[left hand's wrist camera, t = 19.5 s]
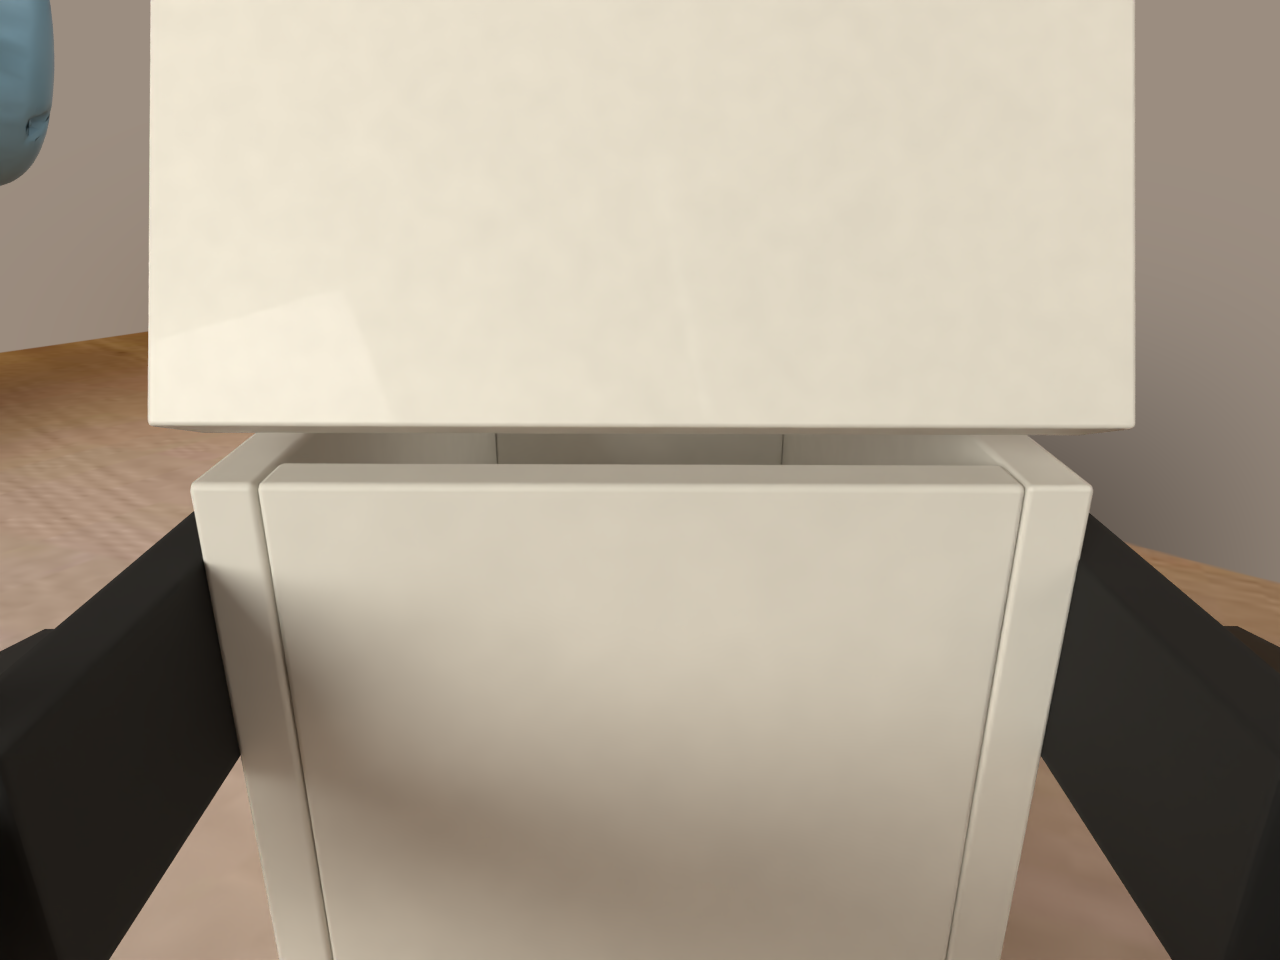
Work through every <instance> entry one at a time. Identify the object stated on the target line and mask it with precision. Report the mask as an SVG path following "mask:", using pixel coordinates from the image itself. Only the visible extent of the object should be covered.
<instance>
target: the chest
mask: <svg viewBox="0 0 1280 960" xmlns="http://www.w3.org/2000/svg"><path fill="white" fill-rule="evenodd" d="M190 492H191V497H192V502H193V507H194V513H195V518H196V523H197V528H198V534H199V539H200V544H201V550H202V555H203V560H204V565H205V571H206V576H207V581H208V586H209V592H210V597H211V602H212V607H213V613H214V618H215V623H216V629H217V634H218V639H219V644H220V650H221V655H222V660H223V665H224V671H225V676H226V681H227V687H228V692H229V697H230V702H231V708H232V713H233V718H234V723H235V729H236V734H237V739H238V744H239V750H240V755H241V760H242V766H243V771H244V776H245V781H246V787H247V792H248V797H249V802H250V808H251V813H252V818H253V824H254V829H255V834H256V839H257V845H258V850H259V855H260V860H261V866H262V871H263V876H264V881H265V887H266V892H267V897H268V903H269V908H270V913H271V918H272V924H273V929H274V934H275V939H276V945H277V950H278V955H279V960H1000V958H1001V953H1002V948H1003V943H1004V938H1005V933H1006V928H1007V923H1008V918H1009V913H1010V907H1011V902H1012V897H1013V892H1014V887H1015V882H1016V877H1017V872H1018V867H1019V862H1020V857H1021V852H1022V847H1023V842H1024V837H1025V832H1026V827H1027V822H1028V817H1029V812H1030V807H1031V802H1032V797H1033V792H1034V787H1035V782H1036V777H1037V772H1038V767H1039V762H1040V757H1041V751H1042V746H1043V741H1044V736H1045V731H1046V725H1047V720H1048V715H1049V710H1050V705H1051V700H1052V695H1053V690H1054V685H1055V679H1056V674H1057V669H1058V664H1059V659H1060V654H1061V649H1062V644H1063V639H1064V633H1065V628H1066V623H1067V618H1068V613H1069V608H1070V603H1071V598H1072V592H1073V587H1074V582H1075V577H1076V572H1077V567H1078V562H1079V560H1080V555H1081V550H1082V545H1083V540H1084V535H1085V530H1086V525H1087V520H1088V515H1089V510H1090V505H1091V500H1092V495H1093V488H1092V486H1091V485H1090V484H1089V483H1087V482H1086V481H1085V480H1084V479H1082V478H1081V477H1080V476H1078V475H1077V474H1076V473H1075V472H1073V471H1072V470H1071V469H1070V468H1068V467H1067V466H1066V465H1064V464H1063V463H1062V462H1061V461H1059V460H1058V459H1057V458H1056V457H1054V456H1053V455H1052V454H1050V453H1049V452H1048V451H1047V450H1045V449H1044V448H1043V447H1042V446H1040V445H1039V444H1038V443H1036V442H1035V441H1034V440H1033V439H1031V438H1030V437H1029V436H1028V435H868V434H536V433H255V434H254V435H252V436H251V437H250V438H249V439H247V440H246V441H245V442H244V443H242V444H241V445H240V446H239V447H237V448H236V449H235V450H233V451H232V452H231V453H230V454H228V455H227V456H226V457H225V458H223V459H222V460H221V461H220V462H218V463H217V464H216V465H214V466H213V467H212V468H211V469H209V470H208V471H207V472H206V473H204V474H203V475H202V476H201V477H199V478H198V479H197V480H195V481H194V482H193V483H192V485H191V490H190Z"/></svg>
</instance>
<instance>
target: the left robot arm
mask: <svg viewBox="0 0 1280 960" xmlns="http://www.w3.org/2000/svg"><path fill="white" fill-rule="evenodd" d="M239 757H240V750H239V744H238V739H237V734H236V729H235V723H234V718H233V713H232V708H231V702H230V697H229V692H228V687H227V681H226V676H225V671H224V665H223V660H222V655H221V650H220V644H219V639H218V634H217V629H216V623H215V618H214V613H213V607H212V602H211V597H210V592H209V586H208V581H207V576H206V571H205V565H204V560H203V555H202V550H201V544H200V539H199V534H198V528H197V523H196V518H195V513H194V512H192V513H191V514H190V515H189V516H188V517H187V518H185V519H184V520H183V521H182V522H181V523H179V524H178V525H177V526H176V527H175V528H173V529H172V530H171V531H170V532H169V533H168V534H166V535H165V536H164V537H163V538H162V539H160V540H159V541H158V542H157V543H156V544H155V545H153V546H152V547H151V548H150V549H149V550H147V551H146V552H145V553H144V554H143V555H142V556H140V557H139V558H138V559H137V560H136V561H134V562H133V563H132V564H131V565H130V566H129V567H127V568H126V569H125V570H124V571H123V572H121V573H120V574H119V575H118V576H117V577H116V578H114V579H113V580H112V581H111V582H110V583H108V584H107V585H106V586H105V587H104V588H102V589H101V590H100V591H99V592H98V593H97V594H95V595H94V596H93V597H92V598H91V599H89V600H88V601H87V602H86V603H85V604H84V605H82V606H81V607H80V608H79V609H78V610H76V611H75V612H74V613H73V614H72V615H71V616H69V617H68V618H67V619H66V620H65V621H63V622H62V623H61V624H60V625H59V626H58V627H56V628H55V629H44V630H42V631H40V632H38V633H36V634H34V635H32V636H30V637H28V638H26V639H24V640H22V641H20V642H18V643H16V644H14V645H12V646H10V647H8V648H6V649H4V650H2V651H0V960H109V959H110V957H111V956H112V954H113V953H114V951H115V950H116V948H117V946H118V945H119V943H120V942H121V940H122V939H123V937H124V936H125V934H126V932H127V931H128V929H129V928H130V926H131V925H132V923H133V922H134V920H135V918H136V917H137V915H138V914H139V912H140V911H141V909H142V908H143V906H144V904H145V903H146V901H147V900H148V898H149V897H150V895H151V894H152V892H153V890H154V889H155V887H156V886H157V884H158V883H159V881H160V880H161V878H162V876H163V875H164V873H165V872H166V870H167V869H168V867H169V866H170V864H171V862H172V861H173V859H174V858H175V856H176V855H177V853H178V852H179V850H180V848H181V847H182V845H183V844H184V842H185V841H186V839H187V838H188V836H189V834H190V833H191V831H192V830H193V828H194V827H195V825H196V824H197V822H198V820H199V819H200V817H201V816H202V814H203V813H204V811H205V810H206V808H207V806H208V805H209V803H210V802H211V800H212V799H213V797H214V796H215V794H216V792H217V791H218V789H219V788H220V786H221V785H222V783H223V782H224V780H225V778H226V777H227V775H228V774H229V772H230V771H231V769H232V768H233V766H234V764H235V763H236V761H237V760H238V758H239ZM1041 757H1042V758H1043V760H1044V761H1045V763H1046V764H1047V766H1048V768H1049V769H1050V771H1051V772H1052V774H1053V775H1054V777H1055V778H1056V780H1057V782H1058V783H1059V785H1060V786H1061V788H1062V789H1063V791H1064V792H1065V794H1066V796H1067V797H1068V799H1069V800H1070V802H1071V803H1072V805H1073V806H1074V808H1075V810H1076V811H1077V813H1078V814H1079V816H1080V817H1081V819H1082V820H1083V822H1084V824H1085V825H1086V827H1087V828H1088V830H1089V831H1090V833H1091V834H1092V836H1093V838H1094V839H1095V841H1096V842H1097V844H1098V845H1099V847H1100V848H1101V850H1102V852H1103V853H1104V855H1105V856H1106V858H1107V859H1108V861H1109V862H1110V864H1111V866H1112V867H1113V869H1114V870H1115V872H1116V873H1117V875H1118V876H1119V878H1120V880H1121V881H1122V883H1123V884H1124V886H1125V887H1126V889H1127V890H1128V892H1129V894H1130V895H1131V897H1132V898H1133V900H1134V901H1135V903H1136V904H1137V906H1138V908H1139V909H1140V911H1141V912H1142V914H1143V915H1144V917H1145V918H1146V920H1147V922H1148V923H1149V925H1150V926H1151V928H1152V929H1153V931H1154V932H1155V934H1156V935H1157V937H1158V939H1159V940H1160V942H1161V943H1162V945H1163V946H1164V948H1165V949H1166V951H1167V953H1168V954H1169V956H1170V957H1171V959H1172V960H1280V647H1278V646H1276V645H1274V644H1272V643H1270V642H1268V641H1266V640H1264V639H1262V638H1260V637H1258V636H1256V635H1254V634H1252V633H1250V632H1248V631H1246V630H1244V629H1242V628H1240V627H1238V626H1222V625H1221V624H1220V623H1219V622H1218V621H1217V620H1215V619H1214V618H1213V617H1212V616H1211V615H1209V614H1208V613H1207V612H1206V611H1205V610H1203V609H1202V608H1201V607H1200V606H1199V605H1198V604H1196V603H1195V602H1194V601H1193V600H1192V599H1190V598H1189V597H1188V596H1187V595H1186V594H1185V593H1183V592H1182V591H1181V590H1180V589H1179V588H1177V587H1176V586H1175V585H1174V584H1173V583H1172V582H1170V581H1169V580H1168V579H1167V578H1166V577H1164V576H1163V575H1162V574H1161V573H1160V572H1158V571H1157V570H1156V569H1155V568H1154V567H1153V566H1151V565H1150V564H1149V563H1148V562H1147V561H1145V560H1144V559H1143V558H1142V557H1141V556H1140V555H1138V554H1137V553H1136V552H1135V551H1134V550H1132V549H1131V548H1130V547H1129V546H1128V545H1127V544H1125V543H1124V542H1123V541H1122V540H1121V539H1119V538H1118V537H1117V536H1116V535H1115V534H1113V533H1112V532H1111V531H1110V530H1109V529H1108V528H1106V527H1105V526H1104V525H1103V524H1102V523H1100V522H1099V521H1098V520H1097V519H1096V518H1094V517H1093V516H1092V515H1091V514H1090V513H1089V515H1088V520H1087V525H1086V530H1085V535H1084V540H1083V545H1082V550H1081V555H1080V560H1079V562H1078V567H1077V572H1076V577H1075V582H1074V587H1073V592H1072V598H1071V603H1070V608H1069V613H1068V618H1067V623H1066V628H1065V633H1064V639H1063V644H1062V649H1061V654H1060V659H1059V664H1058V669H1057V674H1056V679H1055V685H1054V690H1053V695H1052V700H1051V705H1050V710H1049V715H1048V720H1047V725H1046V731H1045V736H1044V741H1043V746H1042V751H1041Z"/></svg>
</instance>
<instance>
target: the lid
mask: <svg viewBox="0 0 1280 960" xmlns="http://www.w3.org/2000/svg"><path fill="white" fill-rule="evenodd" d="M150 35H151V36H150V184H149V186H150V187H149V332H148V423H149V424H150V425H151V426H155V427H163V428H171V429H179V430H187V431H195V432H204V433H536V434H868V435H1085V434H1093V433H1102V432H1110V431H1119V430H1128V429H1132V428H1134V426H1135V0H151V34H150Z"/></svg>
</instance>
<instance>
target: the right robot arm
mask: <svg viewBox="0 0 1280 960" xmlns="http://www.w3.org/2000/svg"><path fill="white" fill-rule="evenodd" d="M53 83H54V39H53V24H52V16H51V6H50V0H0V186H1V185H4V184H7V183H10V182H12V181H14V180H16V179H17V178H19V177H20V176H21V175H23V174H24V173H25V172H26V171H27V170H28V169H29V168H30V166H31V165H32V164H33V163H34V161H35V159H36V157H37V156H38V154H39V152H40V150H41V147H42V144H43V142H44V139H45V136H46V132H47V128H48V123H49V116H50V110H51V106H52V97H53Z"/></svg>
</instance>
